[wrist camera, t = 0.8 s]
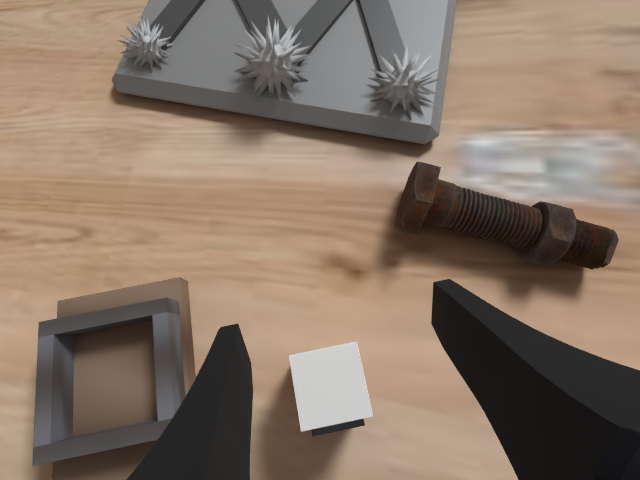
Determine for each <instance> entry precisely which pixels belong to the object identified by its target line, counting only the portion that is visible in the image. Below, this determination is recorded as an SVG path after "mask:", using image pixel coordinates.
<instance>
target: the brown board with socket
mask: <svg viewBox="0 0 640 480" xmlns="http://www.w3.org/2000/svg"><path fill="white" fill-rule="evenodd" d="M195 379H196V377H195V365H194V352H193V340H192V328H191V316H190V304H189V292H188V281H186V280H184V279H182V278H174V279H169V280H164V281H159V282H154V283H148V284H143V285H138V286H133V287H128V288H123V289H117V290H112V291H107V292H102V293H97V294H91V295H86V296H81V297H76V298H71V299H65V300H60V301H58V308H57V319H53V320H48V321H43V322H39V331H38V353H37V376H36V399H35V421H34V444H33V466H35V465H40V464H44V463H49V462H53V480H126V479H127V478H128V477H129V476H130V475H131V473H132V472H133V471H134V470H135V469H136V467H137V466H138V465H139V464H140V462H141V461H142V460H143V458H144V457H145V456H146V455H147V453H148V452H149V450H150V449H151V448H152V446H153V445H154V444H155V442H156V441H157V440H158V438H159V437H160V436H161V434H162V433H163V431H164V430H165V428H166V427H167V425H168V424H169V422H170V421H171V419H172V418H173V416H174V415H175V413H176V412H177V410H178V408H179V407H180V405H181V403H182V402H183V400H184V398H185V396H186V395H187V393H188V391H189V390H190V388H191V386H192V384H193V382H194V381H195Z"/></svg>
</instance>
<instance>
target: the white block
mask: <svg viewBox="0 0 640 480" xmlns="http://www.w3.org/2000/svg"><path fill="white" fill-rule="evenodd" d="M289 360H290V366H291V372H292V379H293V385H294V391H295V397H296V404H297V410H298V416H299V422H300V429H301V432H302V431H307V430H311V431H312V436H317V435H322V434H326V433H331V432H336V431H341V430H345V429H350V428H355V427H359V426H364V425H365V424H364V419H363V418H368V417H373V413H372V408H371V404H370V399H369V395H368V390H367V385H366V381H365V376H364V372H363V367H362V362H361V358H360V353H359V349H358V344H357V342H352V343H347V344H342V345H337V346H332V347H327V348H322V349H317V350H312V351H307V352H303V353H298V354H293V355H289Z"/></svg>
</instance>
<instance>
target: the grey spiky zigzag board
mask: <svg viewBox="0 0 640 480" xmlns="http://www.w3.org/2000/svg"><path fill="white" fill-rule="evenodd" d="M456 1H457V0H149V2H148V4H147V6H146V8H145V10H144V12H143V14H142V16H141V19H140V21H139V23H138V25H137V27H136V26H134V25H133V24H132V23H131V22H130V21H129V22H130V24H131V25H132V27H133V29H134V30H135V31H134V32H133V31H132V30H131V29H130V28H129V27H128V26H127V25H125V26H126V27H127V28H128V30H129V31H130V32H131V34H132V35H133V36H132V38H129V37H125V36H122V35H120V36H122V37H123V38H125V39H127V40H129V41H130V42H125V41H120V42H122V43H125V44H127V45H123V46H127V48H126V50H125V51H124V52H122V53H124V55H123V57H122V59H121V61H120V63H119V65H118V67H117V69H116V72H115V74H114V76H113V78H112V82H113V83H114V85H115V87H116V89H117V91H118V92H119V93H125V94H130V95H136V96H142V97H148V98H154V99H160V100H166V101H172V102H178V103H183V104H189V105H195V106H201V107H207V108H213V109H219V110H225V111H230V112H236V113H242V114H248V115H254V116H260V117H266V118H272V119H278V120H283V121H289V122H295V123H301V124H307V125H313V126H319V127H325V128H330V129H336V130H342V131H348V132H354V133H360V134H366V135H372V136H378V137H383V138H389V139H395V140H401V141H407V142H413V143H419V144H427V143H428V142H430V141H431V140H433V139H434V138H436V137H437V136H439V131H440V123H441V116H442V108H443V100H444V93H445V85H446V77H447V70H448V62H449V55H450V47H451V39H452V32H453V24H454V16H455V9H456ZM118 41H119V40H118Z"/></svg>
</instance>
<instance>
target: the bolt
mask: <svg viewBox="0 0 640 480" xmlns="http://www.w3.org/2000/svg"><path fill="white" fill-rule="evenodd" d="M440 168H441V167H438V166H434V165H430V164H427V163H422V162H416V164H415V166H414V167H413V169H412V171H411V173H410V175H409V178H408V180H407V183H406V186H405V189H404V192H403V195H402V199H401V203H400V206H399V210H398V214H397V221H396V226H397V227H399V228H400V229H402V230H405V231H408V232H411V233H415V234H418V233H419V230H420V228H421V226H422V224H423V222H424V223H428V224H431V225H435V226H438V227H441V226H442V227H447V228H451V229H453V230H454V229H455V230H456V231H460V232H464V233H468V234H473V235H474V236H476V235H477V236H478V237H482V238H486V239H488V240H489V239H490V240H491V241H495V242H499V243H503V244H506V245H507V244H508V245H509V246H513V247H516V251H517V253H518V255H519V256H521V257H523V258H525V259H527V260H529V261H531V262H534V263H538V264H541V265H545V266H549V265H551V264H553V263H555V262H556V261H558V260H562V261H566V262H570V263H572V264H576V265H580V266H583V267H585V268H589V269H594V268H596V269H597V268H599V267H604V266H606V265H608V264H609V263H610V262H611V259H612V257H613V254H614V251H615V248H616V246H617V243H618V237H617V234H616V233H615V231H614V230H610V229H609V228H607V227H602V226H598V225H594V224H592V223H588V222H584V221H580V220H577V219H576V217H575V214H574V212H573V209H570V208H566V207H562V206H559V205H555V204H551V203H546V202H541V201H540V202H538V203H537V204H535V205H533V206H532V207H530V206H528V205H524V204H519V203H515V202H511V201H509V200H505V199H501V198H497V197H493V196H489V195H485V194H483V193H481V194H480V193H479V192H475V191H471V190H470V189H467V190H466V188H461V187H459V186H456V185H455V184H453V183H449V182H446V181H442V180H439V179H438V177H439V173H440Z"/></svg>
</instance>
